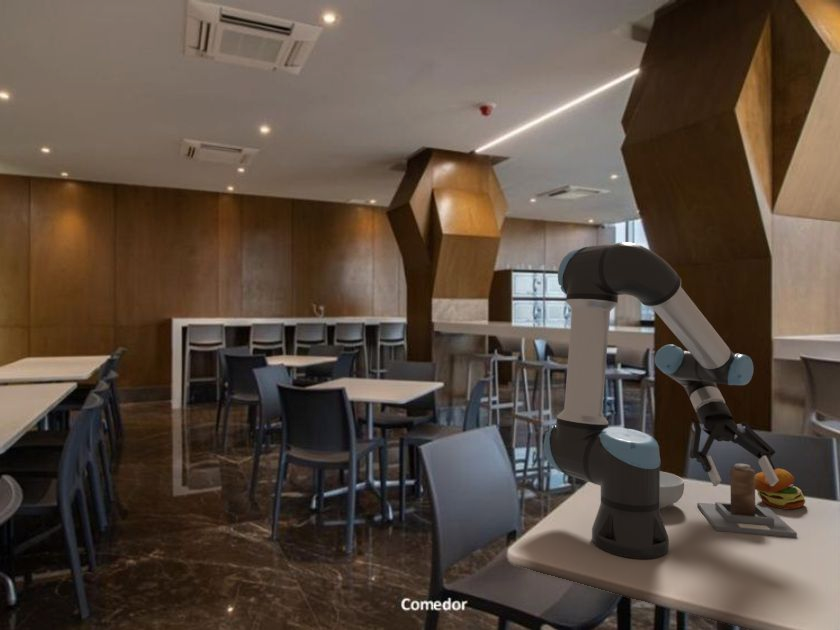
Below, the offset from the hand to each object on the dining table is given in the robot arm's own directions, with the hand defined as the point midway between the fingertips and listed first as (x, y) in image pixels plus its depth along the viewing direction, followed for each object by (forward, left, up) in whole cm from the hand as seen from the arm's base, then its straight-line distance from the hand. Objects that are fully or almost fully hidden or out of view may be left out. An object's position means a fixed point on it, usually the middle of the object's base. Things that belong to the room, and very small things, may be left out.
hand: (746, 483), depth 129 cm
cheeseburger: (+13, +15, -9) cm, 22 cm away
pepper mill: (0, 0, -8) cm, 8 cm away
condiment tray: (0, 0, -9) cm, 9 cm away
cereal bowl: (-20, +7, -9) cm, 24 cm away
